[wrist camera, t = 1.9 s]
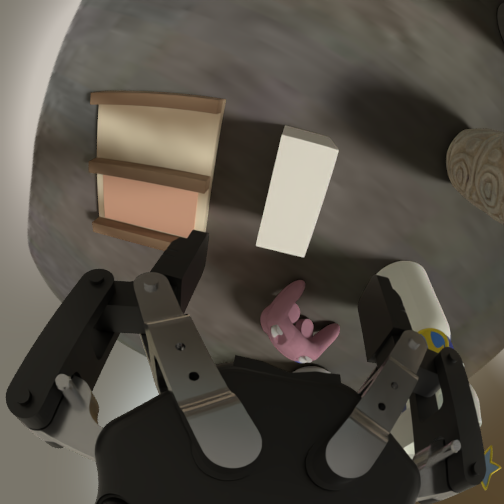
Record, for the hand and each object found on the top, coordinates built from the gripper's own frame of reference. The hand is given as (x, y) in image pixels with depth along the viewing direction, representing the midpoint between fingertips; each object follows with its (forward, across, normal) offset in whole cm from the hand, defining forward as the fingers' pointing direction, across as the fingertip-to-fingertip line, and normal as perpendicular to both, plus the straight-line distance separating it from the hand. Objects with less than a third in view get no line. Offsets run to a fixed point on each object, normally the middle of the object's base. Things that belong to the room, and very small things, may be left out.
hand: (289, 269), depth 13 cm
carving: (+14, -16, -8) cm, 23 cm away
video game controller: (+15, -6, +16) cm, 22 cm away
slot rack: (+14, +14, +2) cm, 20 cm away
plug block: (+14, 0, 0) cm, 15 cm away
